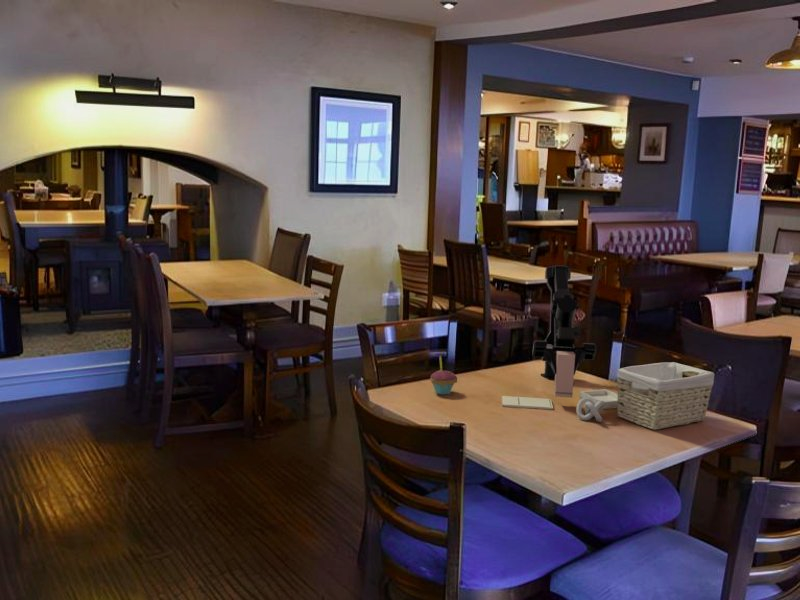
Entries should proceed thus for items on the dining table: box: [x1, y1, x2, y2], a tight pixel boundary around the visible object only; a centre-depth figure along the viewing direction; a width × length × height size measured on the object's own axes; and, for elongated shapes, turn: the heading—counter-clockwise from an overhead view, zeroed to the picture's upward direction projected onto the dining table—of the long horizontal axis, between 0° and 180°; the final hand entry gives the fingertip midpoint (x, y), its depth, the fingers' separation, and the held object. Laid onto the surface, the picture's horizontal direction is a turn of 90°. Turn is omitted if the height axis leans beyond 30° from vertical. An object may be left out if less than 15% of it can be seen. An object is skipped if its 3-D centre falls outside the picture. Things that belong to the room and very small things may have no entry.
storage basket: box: [616, 361, 715, 430], centre depth 203 cm, size 24×16×15 cm
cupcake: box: [430, 355, 458, 396], centre depth 224 cm, size 9×8×12 cm
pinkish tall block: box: [553, 351, 575, 398], centre depth 213 cm, size 5×5×13 cm
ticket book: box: [501, 395, 554, 410], centre depth 216 cm, size 9×15×1 cm, turn 83°
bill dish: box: [578, 388, 618, 410], centre depth 220 cm, size 12×10×2 cm
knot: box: [575, 398, 605, 423], centre depth 202 cm, size 8×8×6 cm
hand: (564, 374), depth 212 cm, fingers closed on pinkish tall block, 5 cm apart
